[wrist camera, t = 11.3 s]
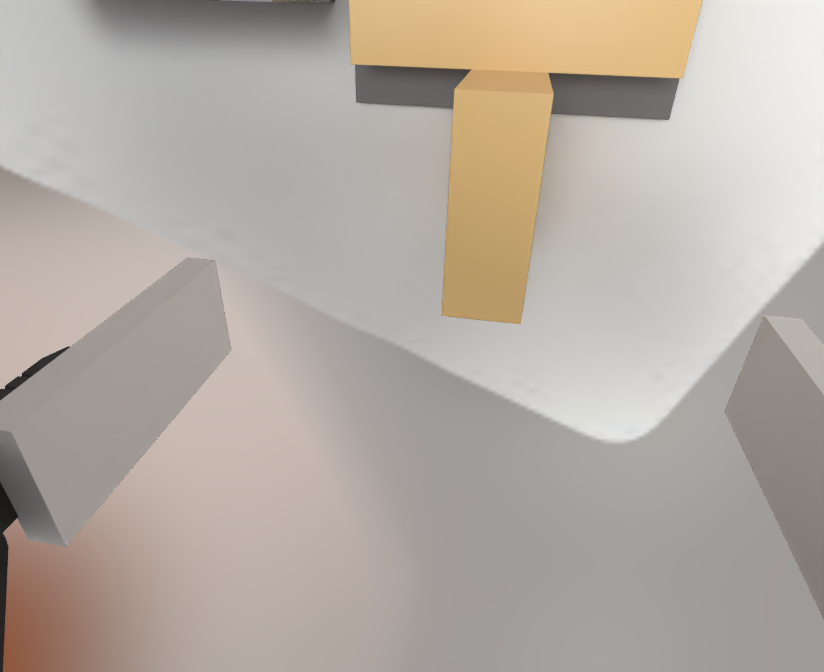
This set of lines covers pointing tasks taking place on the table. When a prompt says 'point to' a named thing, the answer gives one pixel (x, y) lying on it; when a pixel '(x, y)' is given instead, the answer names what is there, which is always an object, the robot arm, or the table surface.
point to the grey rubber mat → (569, 89)
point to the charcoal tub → (285, 0)
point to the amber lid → (511, 109)
